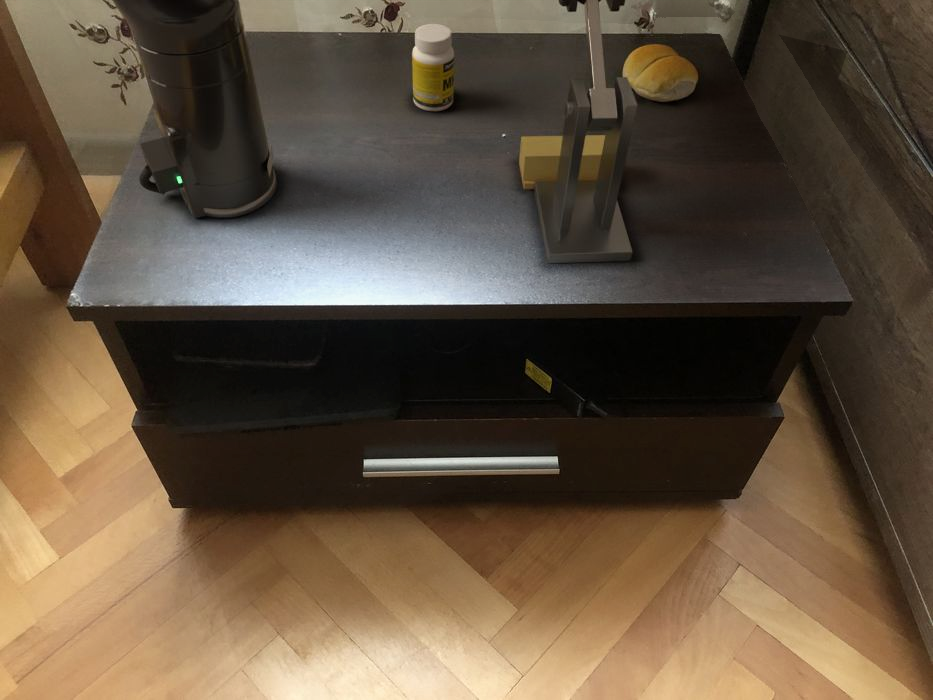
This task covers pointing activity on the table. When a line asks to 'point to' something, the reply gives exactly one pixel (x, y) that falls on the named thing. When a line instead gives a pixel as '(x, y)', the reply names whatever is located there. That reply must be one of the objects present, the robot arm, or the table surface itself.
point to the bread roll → (660, 73)
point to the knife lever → (598, 73)
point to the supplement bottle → (433, 67)
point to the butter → (556, 158)
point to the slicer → (587, 186)
